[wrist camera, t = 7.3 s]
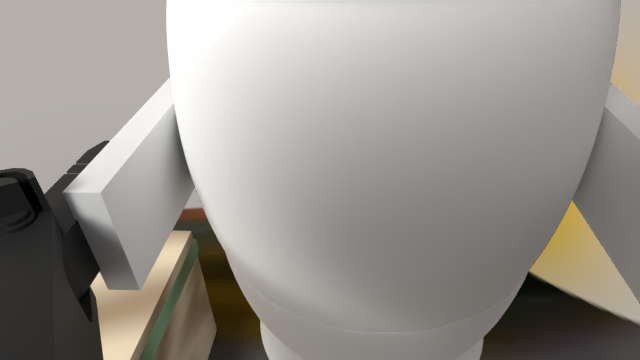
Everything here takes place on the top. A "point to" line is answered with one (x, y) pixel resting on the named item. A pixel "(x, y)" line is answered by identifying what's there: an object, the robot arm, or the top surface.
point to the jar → (386, 158)
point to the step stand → (159, 309)
